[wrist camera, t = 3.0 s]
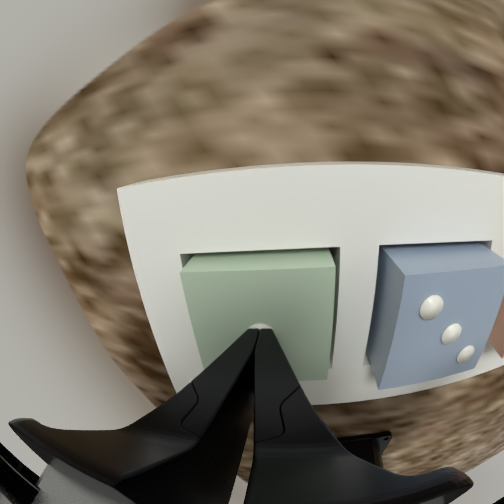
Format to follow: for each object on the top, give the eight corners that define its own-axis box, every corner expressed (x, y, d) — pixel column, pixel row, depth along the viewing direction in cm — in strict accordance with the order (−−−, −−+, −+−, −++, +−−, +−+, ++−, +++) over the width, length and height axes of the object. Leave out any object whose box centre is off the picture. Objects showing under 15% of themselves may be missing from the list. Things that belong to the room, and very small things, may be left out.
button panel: (519, 331, 11) (534, 350, 9) (191, 368, 15) (178, 397, 13) (552, 184, 8) (577, 192, 5) (147, 179, 11) (116, 188, 9)
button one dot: (321, 335, 12) (327, 381, 10) (221, 336, 13) (205, 380, 10) (324, 236, 11) (336, 268, 8) (204, 242, 12) (178, 273, 9)
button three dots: (450, 330, 11) (475, 369, 8) (364, 343, 11) (378, 392, 8) (472, 238, 9) (513, 265, 6) (376, 241, 10) (406, 277, 7)
